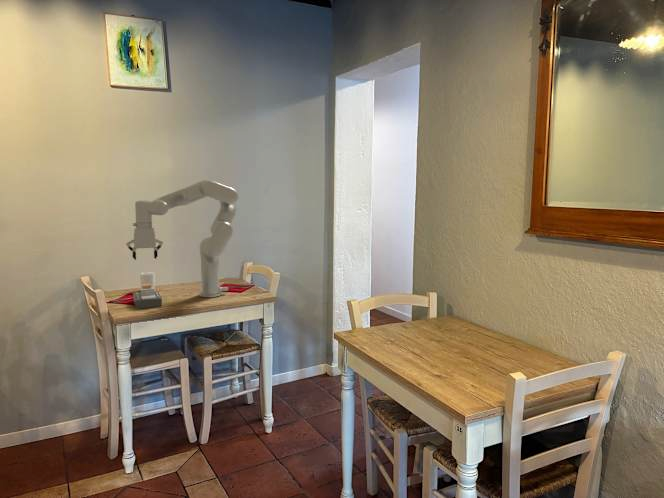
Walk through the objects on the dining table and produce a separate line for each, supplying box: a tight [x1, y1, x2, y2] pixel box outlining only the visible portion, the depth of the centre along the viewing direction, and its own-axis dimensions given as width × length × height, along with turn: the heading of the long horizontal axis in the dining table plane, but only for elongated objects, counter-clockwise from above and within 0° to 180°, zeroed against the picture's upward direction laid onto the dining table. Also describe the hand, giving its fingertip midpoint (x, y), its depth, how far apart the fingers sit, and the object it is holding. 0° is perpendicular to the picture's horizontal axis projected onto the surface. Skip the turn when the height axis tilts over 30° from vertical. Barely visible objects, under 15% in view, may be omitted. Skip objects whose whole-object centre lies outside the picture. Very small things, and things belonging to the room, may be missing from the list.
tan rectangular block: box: [141, 284, 151, 289], centre depth 246 cm, size 4×4×9 cm
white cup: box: [139, 271, 156, 291], centre depth 269 cm, size 8×8×10 cm
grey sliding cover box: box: [133, 290, 163, 310], centre depth 244 cm, size 12×16×5 cm
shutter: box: [140, 288, 156, 300], centre depth 238 cm, size 6×6×4 cm
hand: (145, 258), depth 244 cm, fingers open, 9 cm apart
